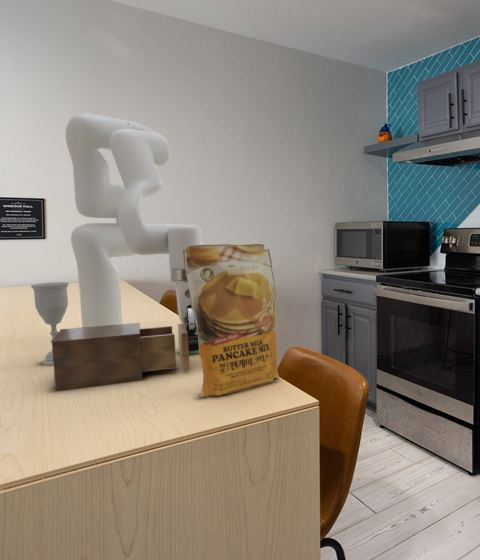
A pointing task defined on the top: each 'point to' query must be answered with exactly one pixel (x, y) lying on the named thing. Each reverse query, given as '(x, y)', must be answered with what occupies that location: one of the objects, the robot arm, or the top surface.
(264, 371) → the pancake mix bag
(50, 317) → the chalice
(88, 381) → the cabinet
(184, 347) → the drawer
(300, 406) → the top surface
